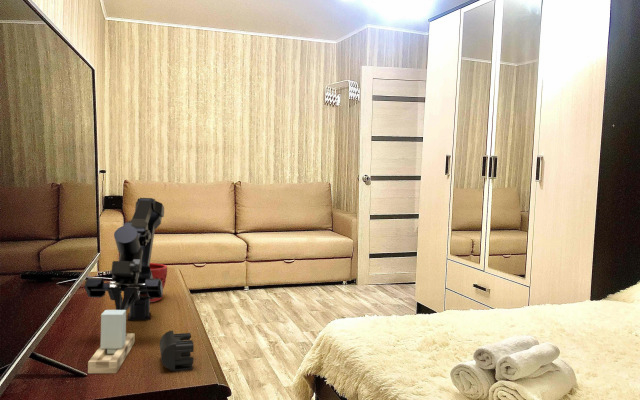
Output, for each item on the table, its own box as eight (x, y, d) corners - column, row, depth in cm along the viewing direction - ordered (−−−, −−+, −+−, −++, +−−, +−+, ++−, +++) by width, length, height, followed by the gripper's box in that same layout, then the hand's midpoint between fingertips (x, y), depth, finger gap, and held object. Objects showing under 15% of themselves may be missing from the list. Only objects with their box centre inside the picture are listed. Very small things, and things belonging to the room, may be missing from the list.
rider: (104, 348, 129) (105, 309, 128) (125, 348, 130) (126, 309, 129) (100, 354, 125) (101, 314, 124) (121, 353, 126) (122, 314, 125)
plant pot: (159, 305, 174) (160, 269, 173) (119, 303, 174) (120, 267, 174) (171, 296, 187) (172, 262, 186) (134, 294, 187) (135, 260, 187)
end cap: (159, 358, 129) (159, 330, 128) (189, 355, 131) (189, 329, 130) (160, 374, 119) (161, 344, 119) (193, 371, 121) (193, 342, 121)
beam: (109, 343, 137) (110, 333, 137) (134, 342, 138) (135, 333, 138) (87, 373, 117) (87, 361, 117) (116, 373, 118) (116, 361, 118)
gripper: (86, 246, 135) (72, 301, 125) (162, 248, 138) (154, 301, 128) (95, 270, 144) (82, 323, 134) (166, 271, 146) (158, 323, 136)
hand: (119, 317), depth 133 cm, fingers closed
